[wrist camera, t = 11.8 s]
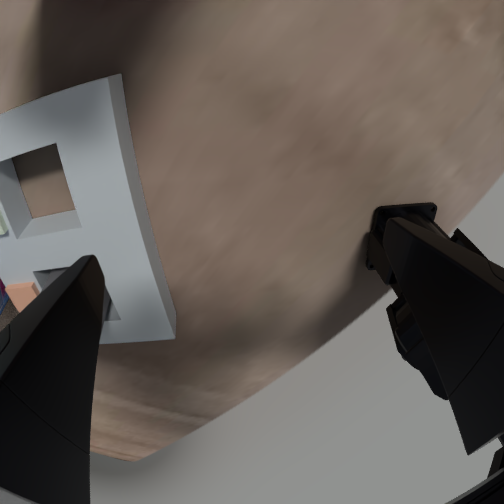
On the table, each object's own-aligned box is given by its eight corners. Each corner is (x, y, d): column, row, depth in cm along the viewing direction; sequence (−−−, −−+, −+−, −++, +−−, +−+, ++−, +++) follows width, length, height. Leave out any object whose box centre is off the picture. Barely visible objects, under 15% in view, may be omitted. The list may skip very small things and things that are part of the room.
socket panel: (121, 73, 16) (104, 78, 13) (176, 313, 29) (175, 344, 26) (-33, 130, 15) (-60, 146, 12) (51, 323, 27) (42, 349, 25)
